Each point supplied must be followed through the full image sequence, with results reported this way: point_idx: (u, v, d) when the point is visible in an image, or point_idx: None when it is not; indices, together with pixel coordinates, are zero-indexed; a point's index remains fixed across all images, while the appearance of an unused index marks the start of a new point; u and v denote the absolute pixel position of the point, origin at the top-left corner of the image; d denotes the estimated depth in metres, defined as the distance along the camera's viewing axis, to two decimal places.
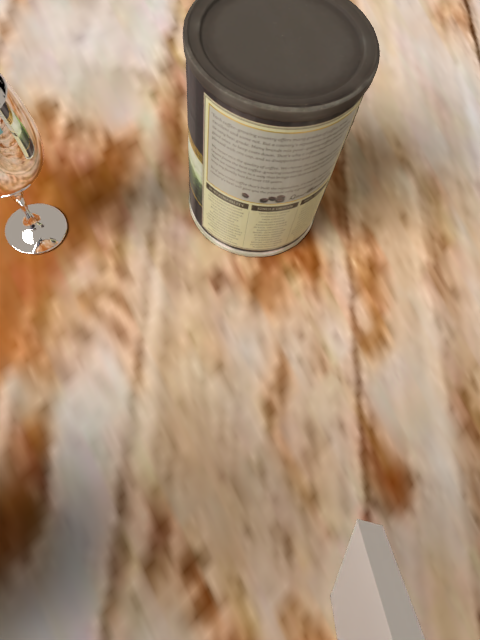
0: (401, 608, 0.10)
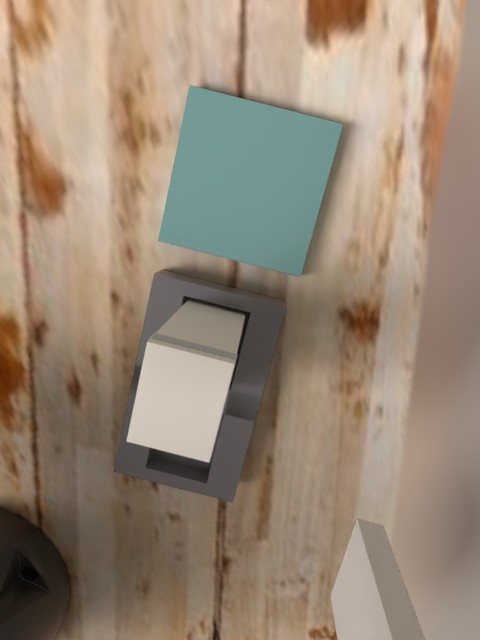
0: (401, 608, 0.10)
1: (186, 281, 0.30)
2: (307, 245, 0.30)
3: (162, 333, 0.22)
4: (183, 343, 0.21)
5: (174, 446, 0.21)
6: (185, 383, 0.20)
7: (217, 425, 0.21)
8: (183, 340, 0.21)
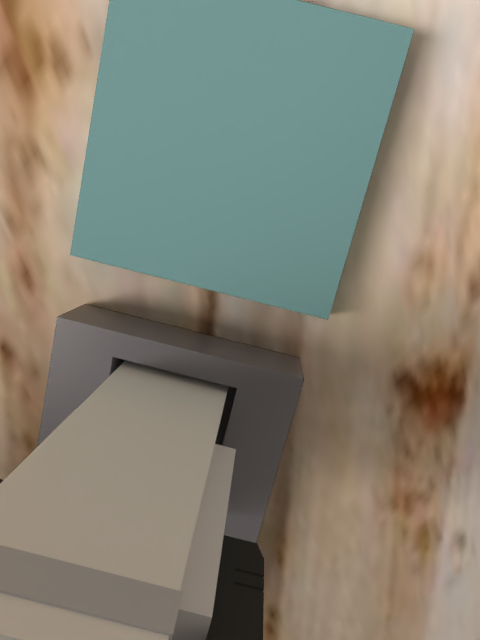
0: (217, 499, 0.12)
1: (118, 330, 0.16)
2: (341, 262, 0.17)
3: None
4: (23, 568, 0.07)
5: None
6: None
7: None
8: (30, 552, 0.08)
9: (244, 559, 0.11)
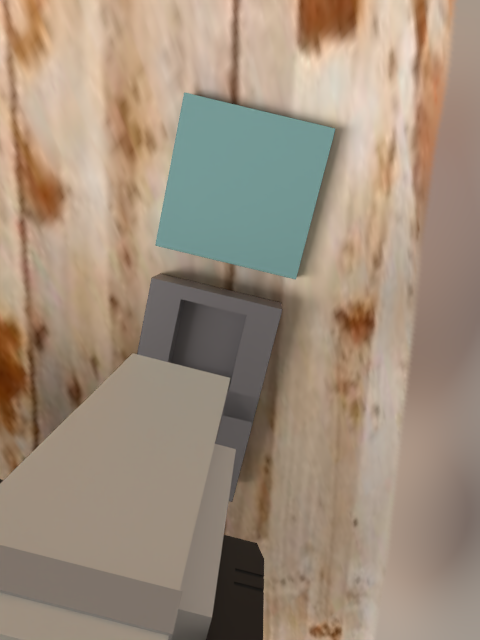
0: (217, 499, 0.12)
1: (183, 285, 0.31)
2: (302, 248, 0.31)
3: None
4: (23, 569, 0.07)
5: None
6: None
7: None
8: (30, 552, 0.08)
9: (244, 559, 0.11)
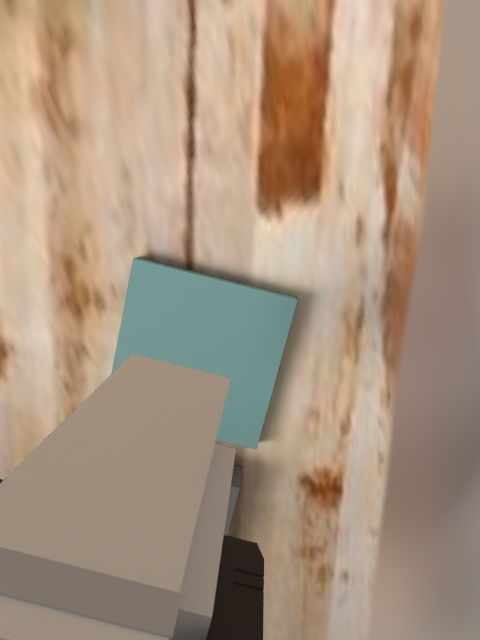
0: (217, 499, 0.12)
1: None
2: (262, 418, 0.28)
3: None
4: (21, 571, 0.07)
5: None
6: None
7: None
8: (29, 553, 0.08)
9: (244, 559, 0.11)
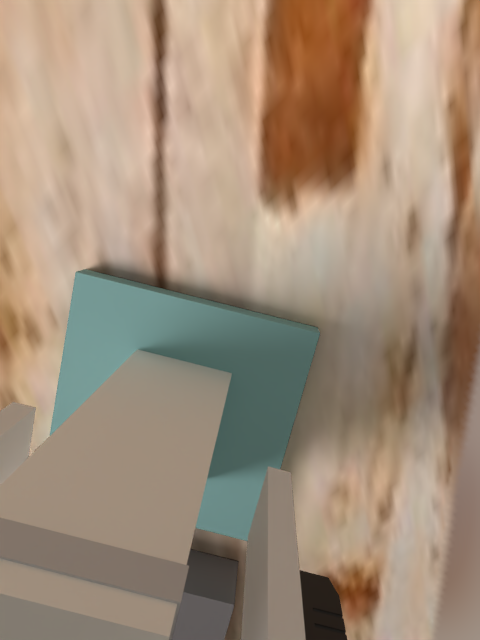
0: (284, 531, 0.12)
1: None
2: None
3: (0, 504, 0.09)
4: (41, 544, 0.08)
5: None
6: None
7: None
8: (47, 529, 0.08)
9: (319, 596, 0.11)
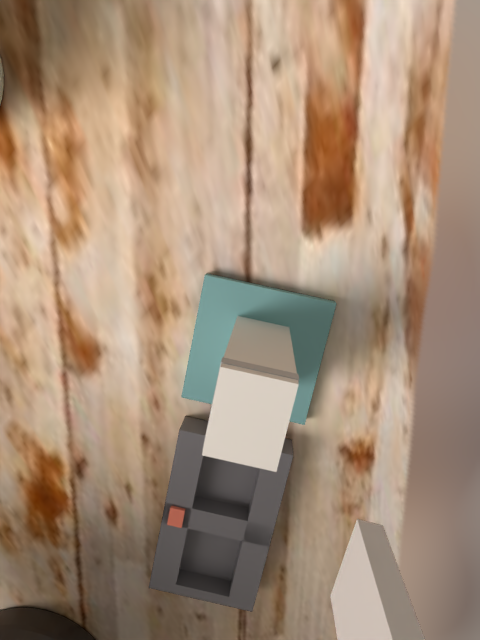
0: (401, 608, 0.10)
1: None
2: (309, 399, 0.35)
3: (229, 357, 0.24)
4: (249, 366, 0.24)
5: (244, 458, 0.24)
6: (254, 402, 0.23)
7: (283, 438, 0.23)
8: (249, 363, 0.24)
9: None
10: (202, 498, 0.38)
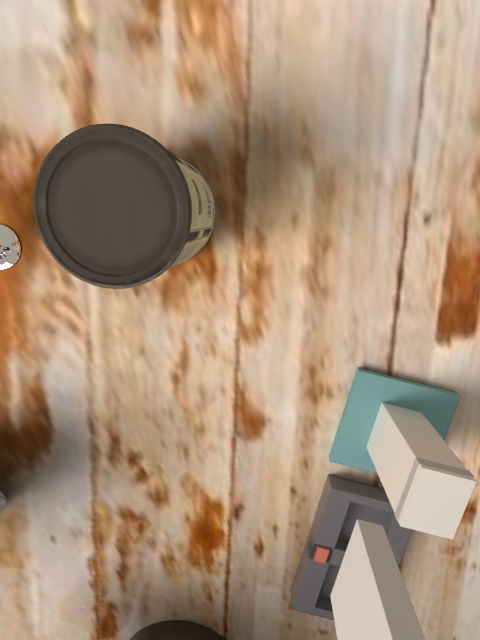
0: (401, 608, 0.10)
1: (352, 492, 0.45)
2: None
3: (418, 456, 0.34)
4: (436, 464, 0.34)
5: (431, 529, 0.34)
6: (443, 492, 0.33)
7: (460, 517, 0.33)
8: (434, 461, 0.34)
9: None
10: (338, 539, 0.48)
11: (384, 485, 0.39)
